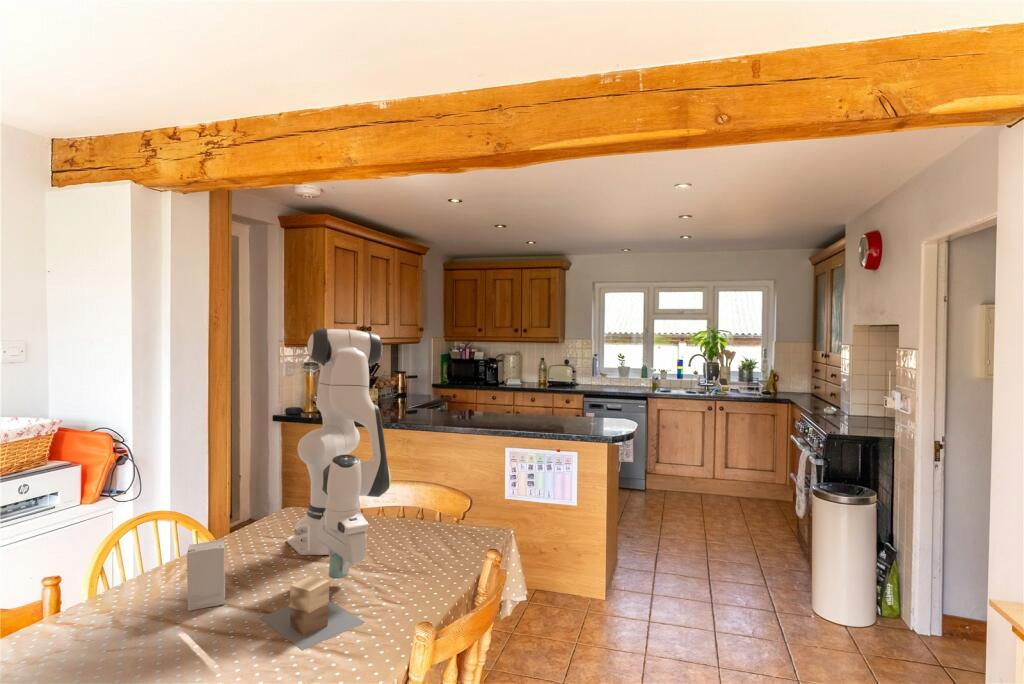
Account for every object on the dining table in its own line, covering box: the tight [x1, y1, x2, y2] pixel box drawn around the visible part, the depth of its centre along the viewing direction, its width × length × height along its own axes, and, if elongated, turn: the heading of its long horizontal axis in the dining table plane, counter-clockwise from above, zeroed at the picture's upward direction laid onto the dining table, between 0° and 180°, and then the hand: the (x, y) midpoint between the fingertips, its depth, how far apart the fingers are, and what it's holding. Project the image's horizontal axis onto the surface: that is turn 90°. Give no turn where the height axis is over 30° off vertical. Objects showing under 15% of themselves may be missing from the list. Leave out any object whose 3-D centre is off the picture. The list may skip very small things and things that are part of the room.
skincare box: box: [186, 539, 226, 612], centre depth 138 cm, size 8×6×15 cm
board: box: [258, 599, 367, 651], centre depth 130 cm, size 20×16×1 cm
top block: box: [289, 574, 330, 613], centre depth 127 cm, size 6×6×5 cm
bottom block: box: [290, 603, 328, 636], centre depth 127 cm, size 6×6×5 cm
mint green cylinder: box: [328, 553, 349, 580], centre depth 148 cm, size 5×5×5 cm
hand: (339, 568), depth 148 cm, fingers closed on mint green cylinder, 5 cm apart
